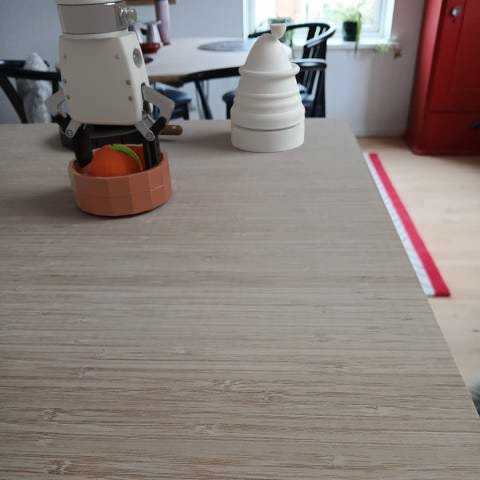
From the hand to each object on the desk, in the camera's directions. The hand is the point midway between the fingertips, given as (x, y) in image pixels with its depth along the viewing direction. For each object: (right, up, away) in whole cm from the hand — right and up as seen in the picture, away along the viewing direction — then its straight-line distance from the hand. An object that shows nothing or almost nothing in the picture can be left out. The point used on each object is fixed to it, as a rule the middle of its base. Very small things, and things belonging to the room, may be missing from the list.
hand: (119, 166), depth 69 cm
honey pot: (+21, +11, +22) cm, 32 cm away
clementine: (0, -3, +3) cm, 4 cm away
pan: (-5, +13, +25) cm, 29 cm away
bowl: (0, -4, +3) cm, 5 cm away
